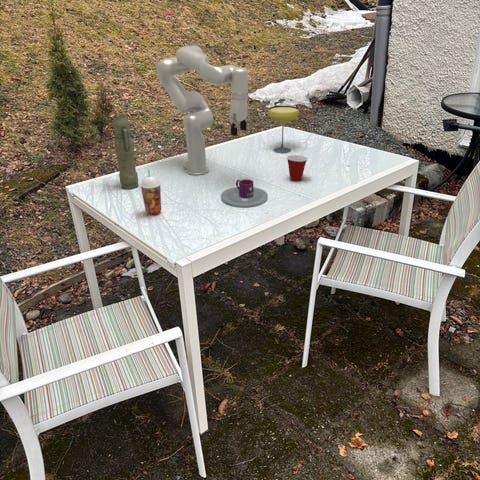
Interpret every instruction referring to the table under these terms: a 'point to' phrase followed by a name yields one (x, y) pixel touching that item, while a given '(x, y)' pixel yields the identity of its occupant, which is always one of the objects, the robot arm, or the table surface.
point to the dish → (235, 200)
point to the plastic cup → (296, 166)
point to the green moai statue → (125, 153)
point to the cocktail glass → (283, 120)
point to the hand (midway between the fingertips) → (238, 132)
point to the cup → (245, 188)
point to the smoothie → (151, 194)
